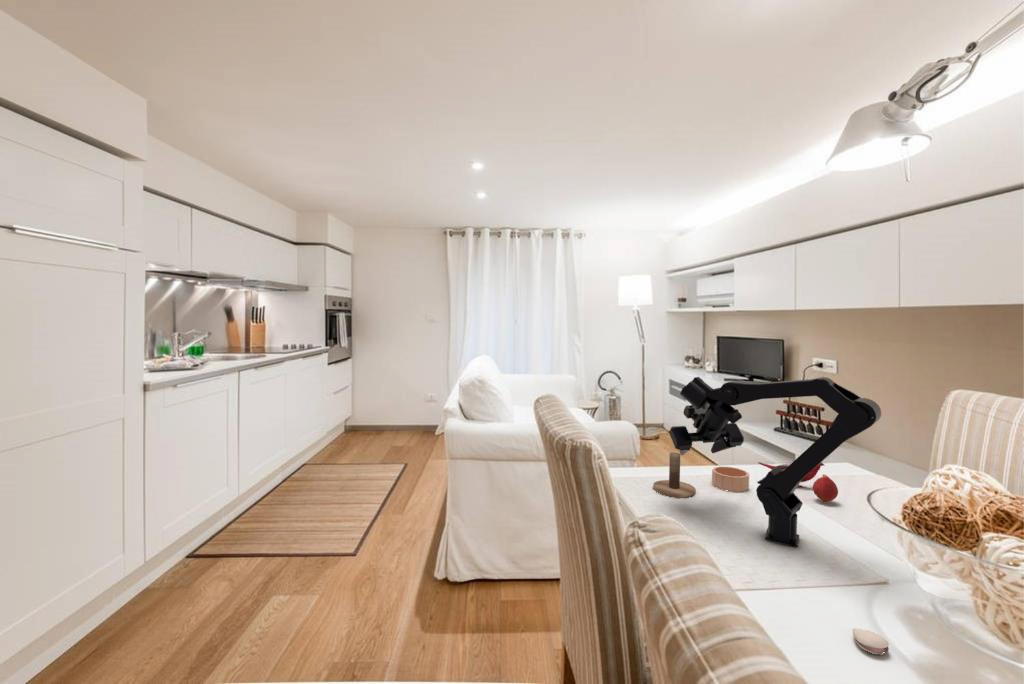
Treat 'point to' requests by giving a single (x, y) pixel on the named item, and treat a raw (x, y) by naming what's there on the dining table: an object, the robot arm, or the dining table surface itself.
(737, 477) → the bowl
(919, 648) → the dining table surface
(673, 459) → the lid
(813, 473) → the decorative bird figurine
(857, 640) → the beige oval flat piece
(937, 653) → the dining table surface
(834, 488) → the onion
